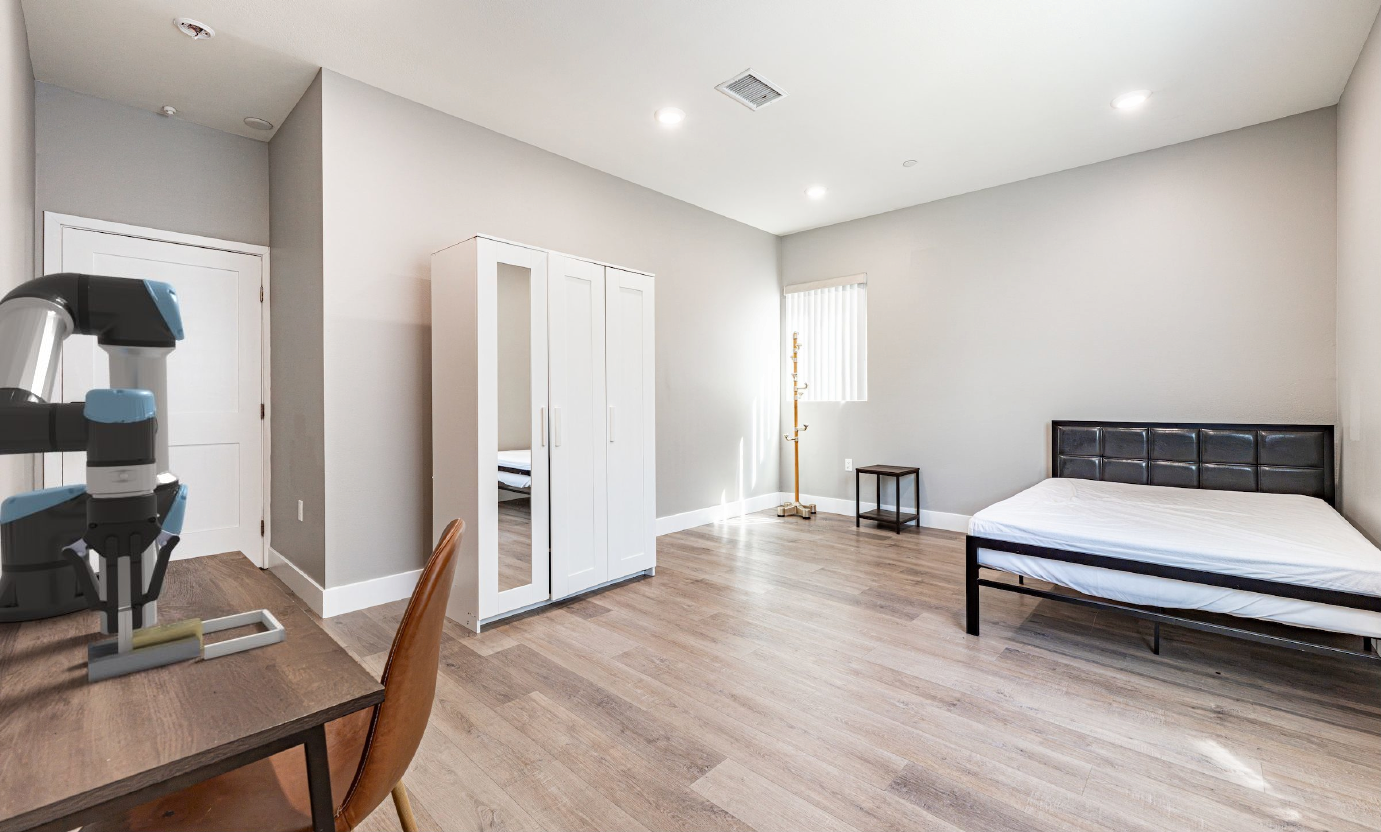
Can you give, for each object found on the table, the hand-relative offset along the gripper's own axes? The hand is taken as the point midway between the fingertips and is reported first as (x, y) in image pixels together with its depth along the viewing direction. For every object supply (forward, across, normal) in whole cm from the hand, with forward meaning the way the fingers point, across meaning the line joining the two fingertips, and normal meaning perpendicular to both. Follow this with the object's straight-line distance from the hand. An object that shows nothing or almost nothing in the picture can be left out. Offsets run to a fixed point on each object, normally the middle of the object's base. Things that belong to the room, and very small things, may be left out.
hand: (125, 652), depth 89 cm
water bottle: (+3, +2, +20) cm, 20 cm away
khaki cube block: (+2, +7, 0) cm, 7 cm away
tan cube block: (+2, +3, 0) cm, 3 cm away
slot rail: (+3, +2, 0) cm, 3 cm away
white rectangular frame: (+3, +14, 0) cm, 14 cm away
